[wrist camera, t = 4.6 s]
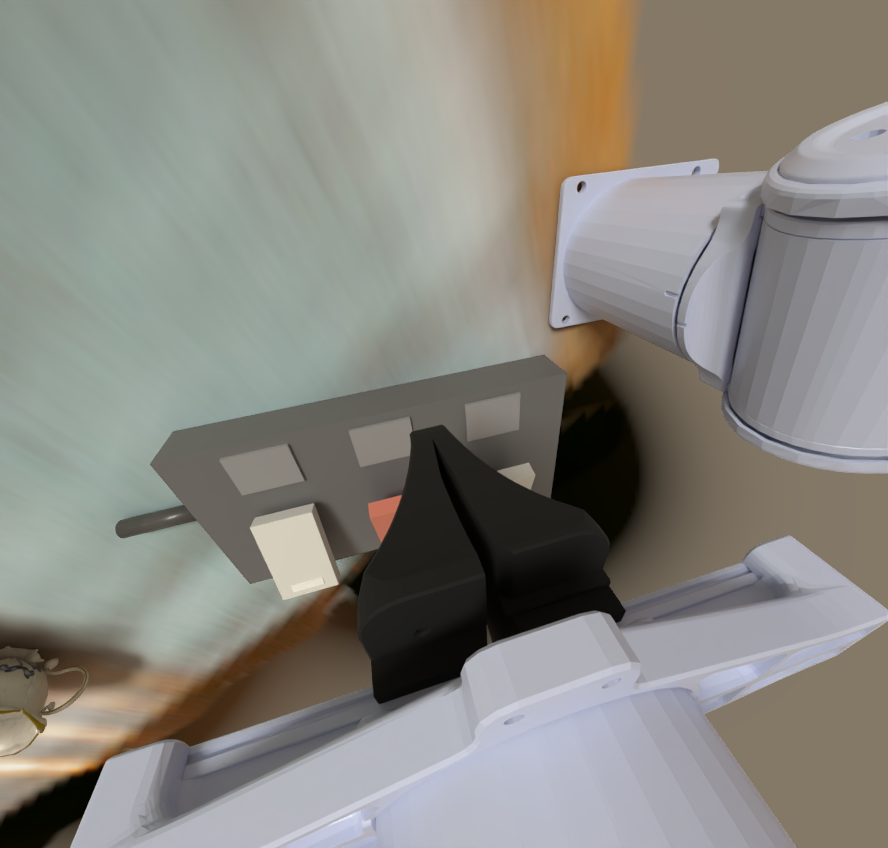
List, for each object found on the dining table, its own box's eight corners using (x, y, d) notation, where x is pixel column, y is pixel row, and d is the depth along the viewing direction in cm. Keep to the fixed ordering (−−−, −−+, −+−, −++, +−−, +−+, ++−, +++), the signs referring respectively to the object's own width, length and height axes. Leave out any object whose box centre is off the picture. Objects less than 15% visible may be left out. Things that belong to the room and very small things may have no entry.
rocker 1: (315, 497, 22) (311, 512, 20) (340, 567, 24) (338, 585, 22) (257, 512, 21) (249, 528, 20) (288, 581, 23) (283, 601, 22)
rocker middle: (423, 480, 21) (429, 503, 20) (429, 521, 26) (434, 541, 25) (366, 495, 21) (369, 519, 20) (383, 533, 25) (386, 555, 24)
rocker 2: (525, 455, 22) (536, 476, 21) (513, 498, 27) (522, 517, 26) (473, 468, 22) (482, 489, 21) (471, 509, 26) (478, 529, 25)
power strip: (544, 354, 23) (568, 374, 21) (533, 477, 30) (551, 503, 28) (59, 455, 19) (15, 495, 16) (178, 570, 26) (160, 611, 23)
